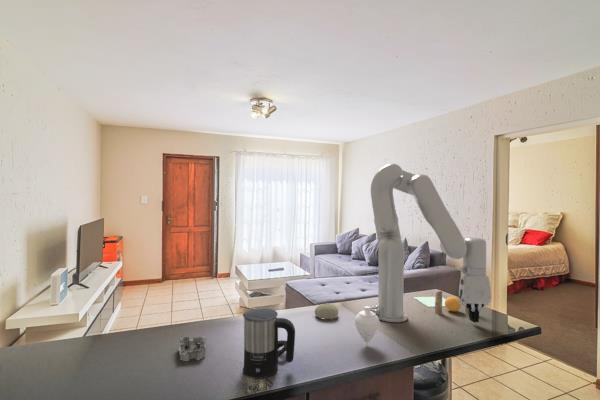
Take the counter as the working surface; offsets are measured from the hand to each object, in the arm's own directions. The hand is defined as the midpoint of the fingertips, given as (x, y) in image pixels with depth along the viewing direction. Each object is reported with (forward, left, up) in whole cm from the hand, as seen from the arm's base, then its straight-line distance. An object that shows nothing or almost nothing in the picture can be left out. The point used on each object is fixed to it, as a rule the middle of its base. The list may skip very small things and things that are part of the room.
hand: (473, 321), depth 118 cm
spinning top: (-45, -14, -2) cm, 47 cm away
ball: (+1, +15, +2) cm, 15 cm away
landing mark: (0, +28, -2) cm, 28 cm away
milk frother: (-76, -23, -2) cm, 79 cm away
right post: (+7, +13, -2) cm, 15 cm away
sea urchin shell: (-53, +12, -2) cm, 54 cm away
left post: (-6, +13, -2) cm, 15 cm away
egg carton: (-98, -15, -2) cm, 99 cm away
